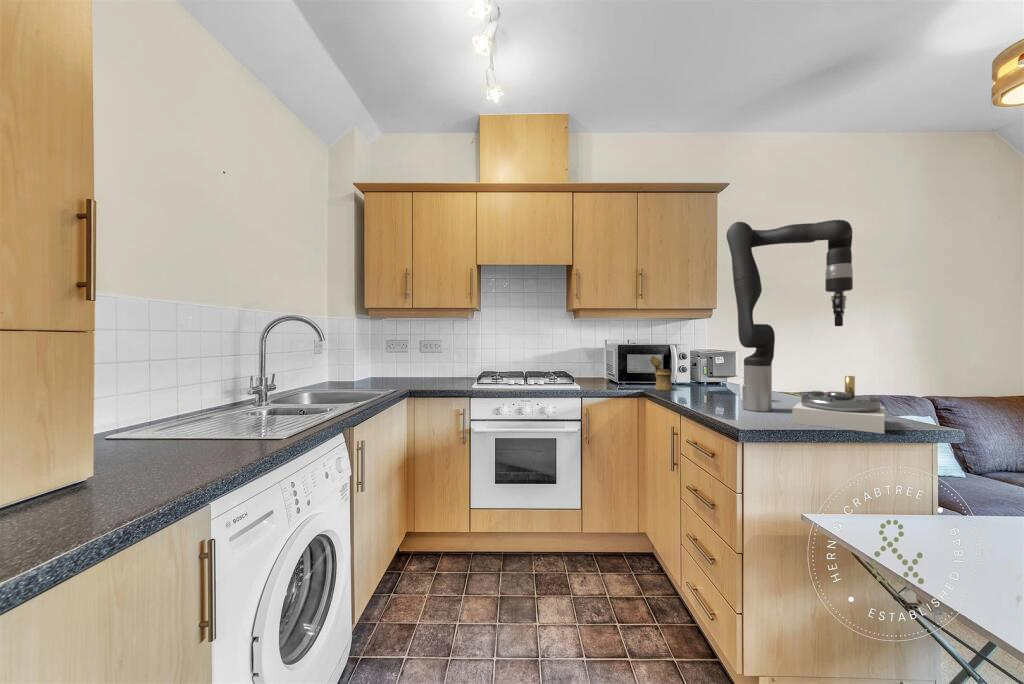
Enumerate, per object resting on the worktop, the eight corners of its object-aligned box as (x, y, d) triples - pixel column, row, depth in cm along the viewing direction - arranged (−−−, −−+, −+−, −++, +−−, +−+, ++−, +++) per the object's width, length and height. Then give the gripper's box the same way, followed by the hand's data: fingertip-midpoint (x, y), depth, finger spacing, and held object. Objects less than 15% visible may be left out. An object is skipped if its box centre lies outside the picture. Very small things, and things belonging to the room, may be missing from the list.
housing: (792, 423, 131) (792, 407, 130) (802, 413, 147) (802, 399, 147) (884, 433, 115) (884, 416, 115) (884, 421, 132) (884, 406, 131)
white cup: (762, 402, 173) (762, 379, 173) (743, 401, 175) (743, 378, 174) (755, 399, 181) (755, 377, 181) (736, 398, 182) (736, 377, 182)
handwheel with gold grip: (864, 414, 117) (865, 382, 117) (789, 404, 134) (789, 376, 134) (890, 408, 127) (890, 378, 127) (817, 399, 145) (817, 373, 145)
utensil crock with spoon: (659, 387, 225) (659, 355, 225) (676, 390, 212) (676, 356, 212) (646, 388, 222) (646, 356, 222) (662, 391, 209) (662, 357, 209)
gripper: (851, 274, 135) (851, 325, 135) (853, 278, 144) (853, 326, 145) (823, 276, 140) (823, 326, 140) (827, 280, 150) (827, 326, 150)
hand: (838, 326), depth 142 cm, fingers closed
